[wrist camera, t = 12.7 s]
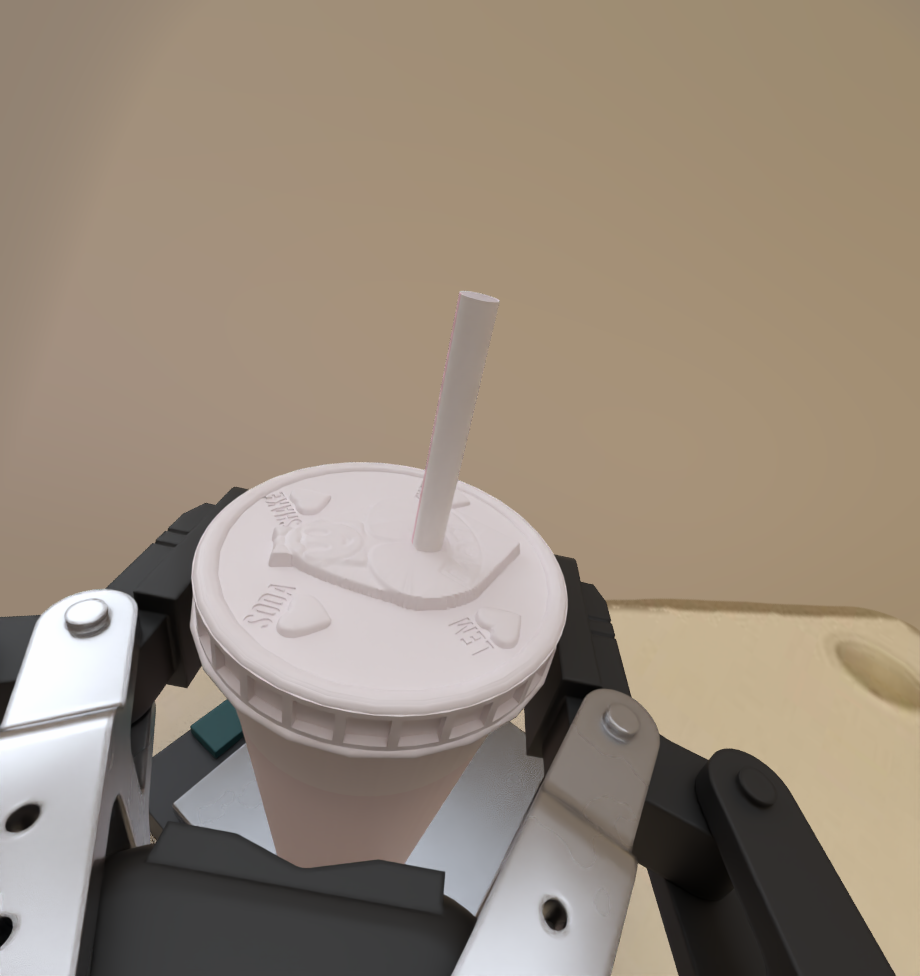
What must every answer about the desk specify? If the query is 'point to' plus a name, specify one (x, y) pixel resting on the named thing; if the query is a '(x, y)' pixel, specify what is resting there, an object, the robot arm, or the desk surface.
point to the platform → (448, 839)
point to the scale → (191, 761)
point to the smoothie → (375, 629)
